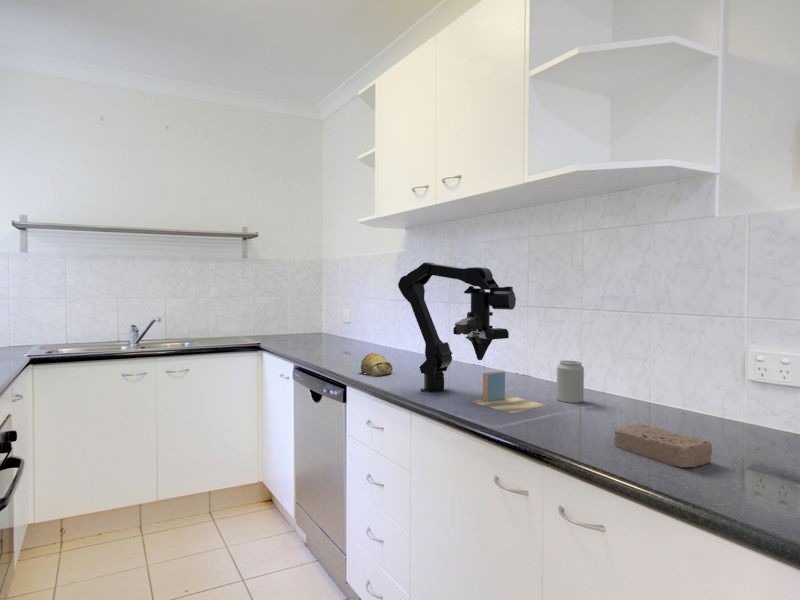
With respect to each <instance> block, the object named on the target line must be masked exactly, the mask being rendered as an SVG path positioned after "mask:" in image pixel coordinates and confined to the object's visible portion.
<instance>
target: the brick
mask: <svg viewBox="0 0 800 600" xmlns="http://www.w3.org/2000/svg"><path fill="white" fill-rule="evenodd" d="M613 446H614V447H616V448H619V449H621V450H625V451H629V452H632V453H634V454H637V455H641V456H643V457H645V458H650V459H652V460H655V461H657V462H661V463H664V464H667V465H668V466H675V467H680V468H697V467H698V466H704V465H705V464H709V463H711V459H712V454H713V446H712V443H711V441H709V440H705V439H701V438H698V437H694V436H690V435H683V434H677V433H675V432H672V431H668V430H664V429H662V428H658V427H655V426H650V425H644V424H643V423H642V424H641V423H630V424H625V425H622V426H618V427H616V428H614V435H613Z"/></svg>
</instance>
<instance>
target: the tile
mask: <svg viewBox="0 0 800 600" xmlns="http://www.w3.org/2000/svg"><path fill="white" fill-rule="evenodd" d="M505 395H506V371H502V370H496V371H489V372H488V371H487V372H483V373H482V399H483V401H487V402H488V401H494V400H500V399H505Z"/></svg>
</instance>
